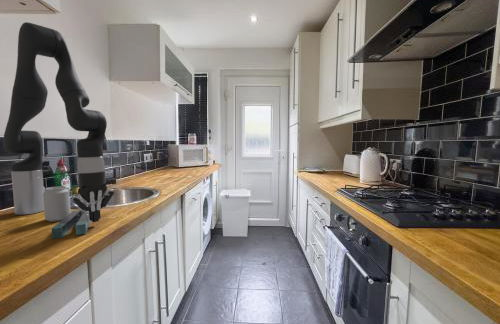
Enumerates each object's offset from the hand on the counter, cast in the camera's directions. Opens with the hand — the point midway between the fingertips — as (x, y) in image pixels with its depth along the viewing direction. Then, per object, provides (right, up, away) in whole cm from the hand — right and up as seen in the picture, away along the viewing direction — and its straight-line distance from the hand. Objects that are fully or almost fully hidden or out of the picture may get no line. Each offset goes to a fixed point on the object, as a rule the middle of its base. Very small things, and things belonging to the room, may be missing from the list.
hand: (95, 221), depth 81 cm
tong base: (-8, -2, +1) cm, 8 cm away
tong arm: (-4, -1, +1) cm, 4 cm away
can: (-19, -1, +8) cm, 20 cm away
